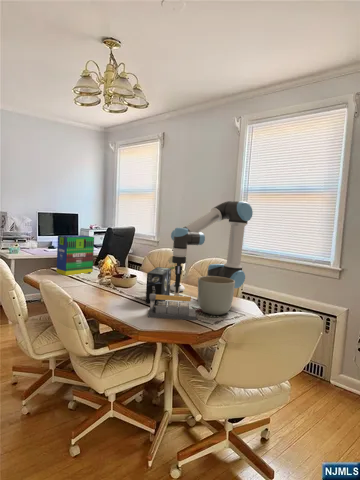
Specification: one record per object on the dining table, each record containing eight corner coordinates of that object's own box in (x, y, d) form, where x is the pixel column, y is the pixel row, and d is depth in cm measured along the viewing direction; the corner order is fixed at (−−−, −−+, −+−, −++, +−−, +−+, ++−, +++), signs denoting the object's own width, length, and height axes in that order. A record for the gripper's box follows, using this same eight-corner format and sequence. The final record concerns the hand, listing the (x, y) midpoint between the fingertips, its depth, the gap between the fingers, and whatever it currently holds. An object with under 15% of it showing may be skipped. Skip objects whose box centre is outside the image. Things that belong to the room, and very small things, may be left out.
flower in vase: (184, 289, 248) (186, 255, 246) (185, 293, 236) (187, 257, 234) (166, 288, 247) (168, 254, 245) (166, 291, 236) (168, 256, 234)
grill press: (194, 312, 192) (195, 299, 192) (195, 320, 178) (196, 306, 178) (150, 309, 192) (150, 296, 191) (148, 317, 178) (148, 303, 177)
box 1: (83, 270, 295) (84, 235, 292) (92, 272, 286) (94, 237, 284) (56, 272, 276) (57, 235, 273) (65, 275, 267) (67, 237, 265)
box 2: (161, 305, 202) (163, 274, 200) (144, 303, 203) (146, 272, 202) (170, 296, 224) (171, 268, 223) (155, 294, 226) (157, 266, 225)
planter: (205, 304, 210) (208, 274, 208) (237, 311, 199) (240, 279, 198) (189, 312, 192) (191, 279, 190) (223, 320, 181) (226, 285, 180)
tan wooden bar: (149, 299, 182) (149, 295, 182) (149, 297, 186) (149, 293, 186) (190, 302, 183) (191, 297, 183) (190, 300, 186) (190, 296, 186)
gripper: (172, 253, 194) (169, 294, 196) (172, 256, 181) (169, 300, 183) (185, 254, 194) (182, 295, 196) (186, 257, 181) (183, 301, 183)
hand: (176, 297), depth 189 cm, fingers closed
